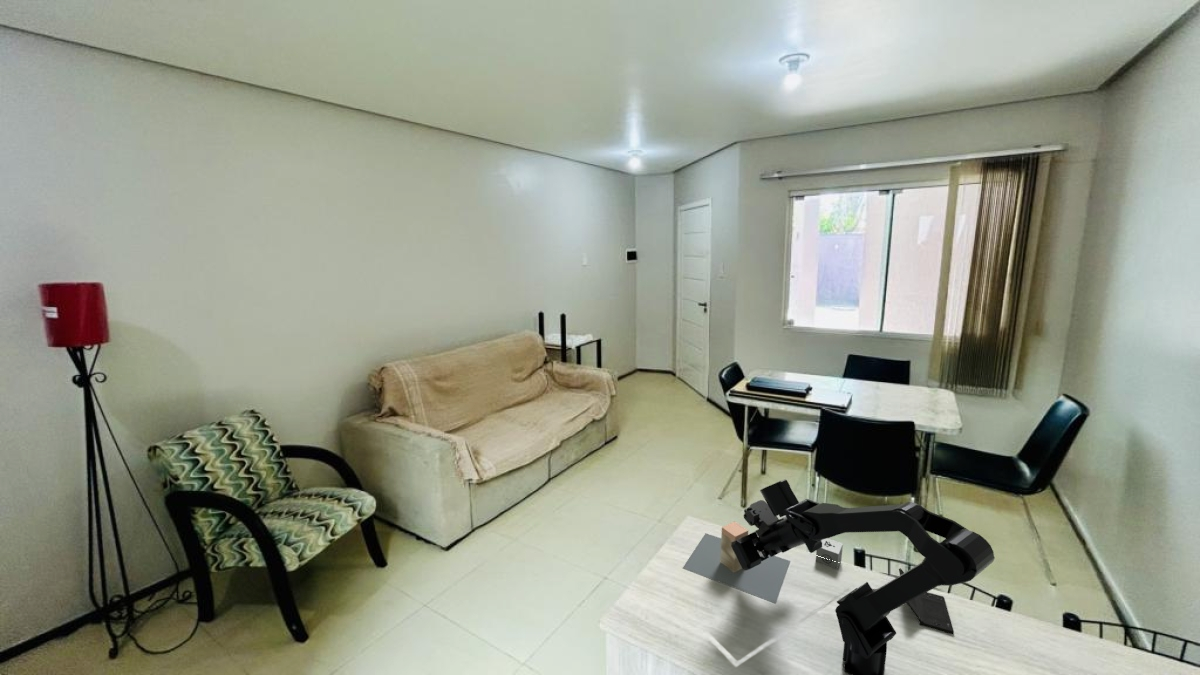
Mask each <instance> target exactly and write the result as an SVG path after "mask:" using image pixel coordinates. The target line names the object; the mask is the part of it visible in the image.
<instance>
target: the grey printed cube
mask: <svg viewBox="0 0 1200 675" xmlns="http://www.w3.org/2000/svg"><path fill="white" fill-rule="evenodd" d="M843 546H844V543H842V542H839V541H837V540H834V539H830V538H827V539H823V540H822V547H821V548H820V549H818V550H816V551H815V554H816V555H818V556H821V557H824V558H825V559H824V558H821V557H818V556H816V555H815V561H816V562H817V563H818V562H819V563H821V564H824V565H826V566H829V567H832V568H834V569H835V570H837V571H838V570H839V567H840V564H841V563H842V558H843ZM826 558H827V559H828V560H827V559H826ZM829 559H830V560H829ZM832 560H833V561H832ZM834 561H836V562H834ZM838 562H841V563H838Z"/></svg>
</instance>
